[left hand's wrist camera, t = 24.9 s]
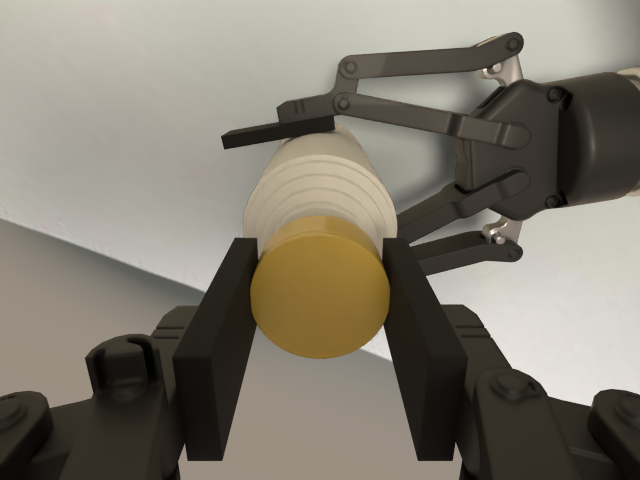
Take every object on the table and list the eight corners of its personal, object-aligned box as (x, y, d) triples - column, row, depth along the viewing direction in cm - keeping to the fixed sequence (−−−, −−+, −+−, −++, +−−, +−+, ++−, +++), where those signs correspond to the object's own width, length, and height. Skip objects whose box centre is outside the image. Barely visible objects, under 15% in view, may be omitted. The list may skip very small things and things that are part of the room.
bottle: (381, 149, 32) (467, 249, 13) (336, 224, 34) (357, 400, 15) (301, 103, 30) (272, 143, 12) (260, 184, 33) (182, 323, 14)
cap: (314, 188, 13) (313, 204, 12) (408, 269, 15) (420, 294, 13) (232, 279, 15) (220, 306, 13) (325, 348, 16) (325, 381, 14)
